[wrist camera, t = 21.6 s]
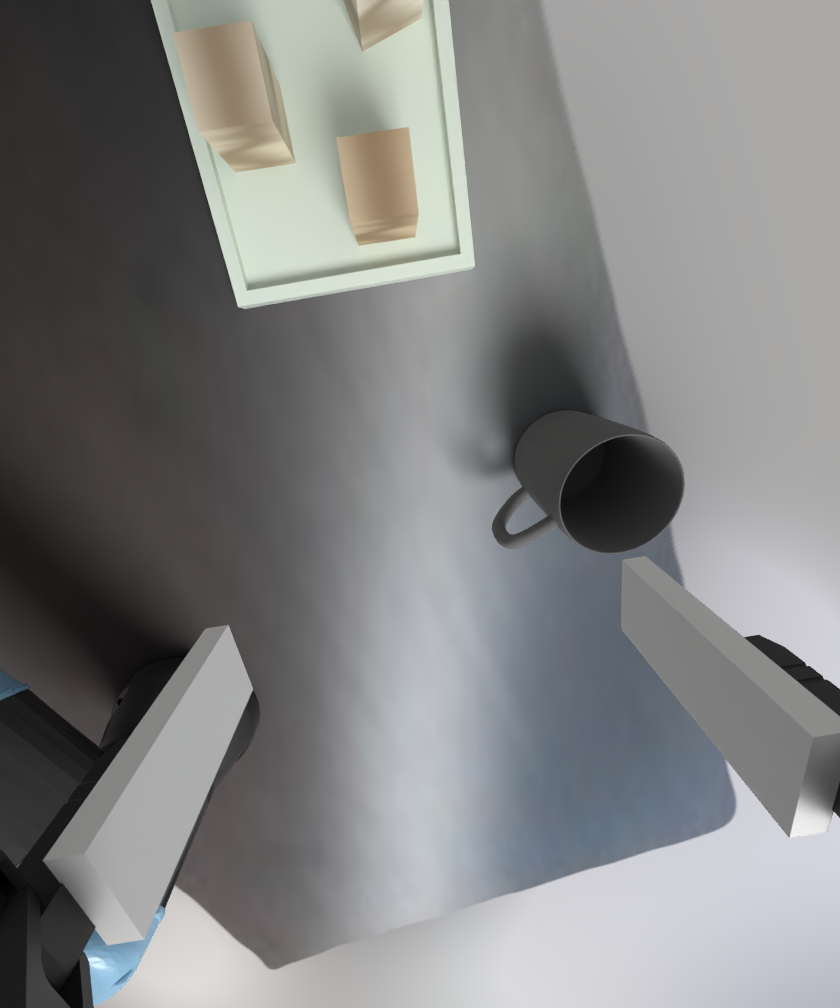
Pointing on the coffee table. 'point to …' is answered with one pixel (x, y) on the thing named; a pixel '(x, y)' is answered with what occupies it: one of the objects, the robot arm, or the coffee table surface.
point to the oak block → (379, 185)
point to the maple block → (381, 18)
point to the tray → (333, 149)
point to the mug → (593, 483)
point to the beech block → (235, 95)
